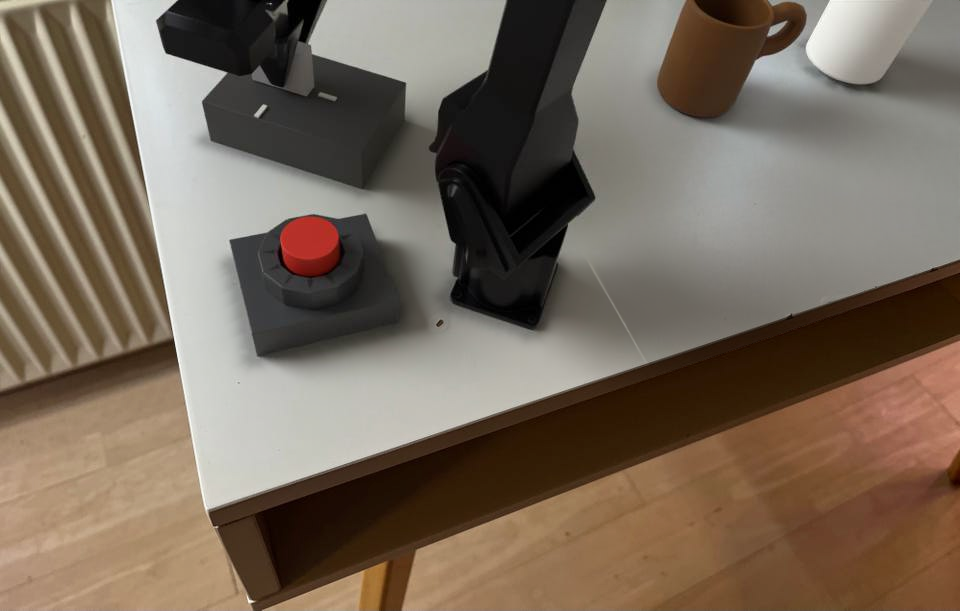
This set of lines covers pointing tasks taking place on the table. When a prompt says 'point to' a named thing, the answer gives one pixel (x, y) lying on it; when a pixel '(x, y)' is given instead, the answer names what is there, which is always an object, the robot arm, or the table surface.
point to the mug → (722, 50)
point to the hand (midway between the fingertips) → (283, 78)
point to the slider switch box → (311, 120)
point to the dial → (295, 72)
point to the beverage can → (862, 37)
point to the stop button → (310, 246)
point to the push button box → (314, 288)
